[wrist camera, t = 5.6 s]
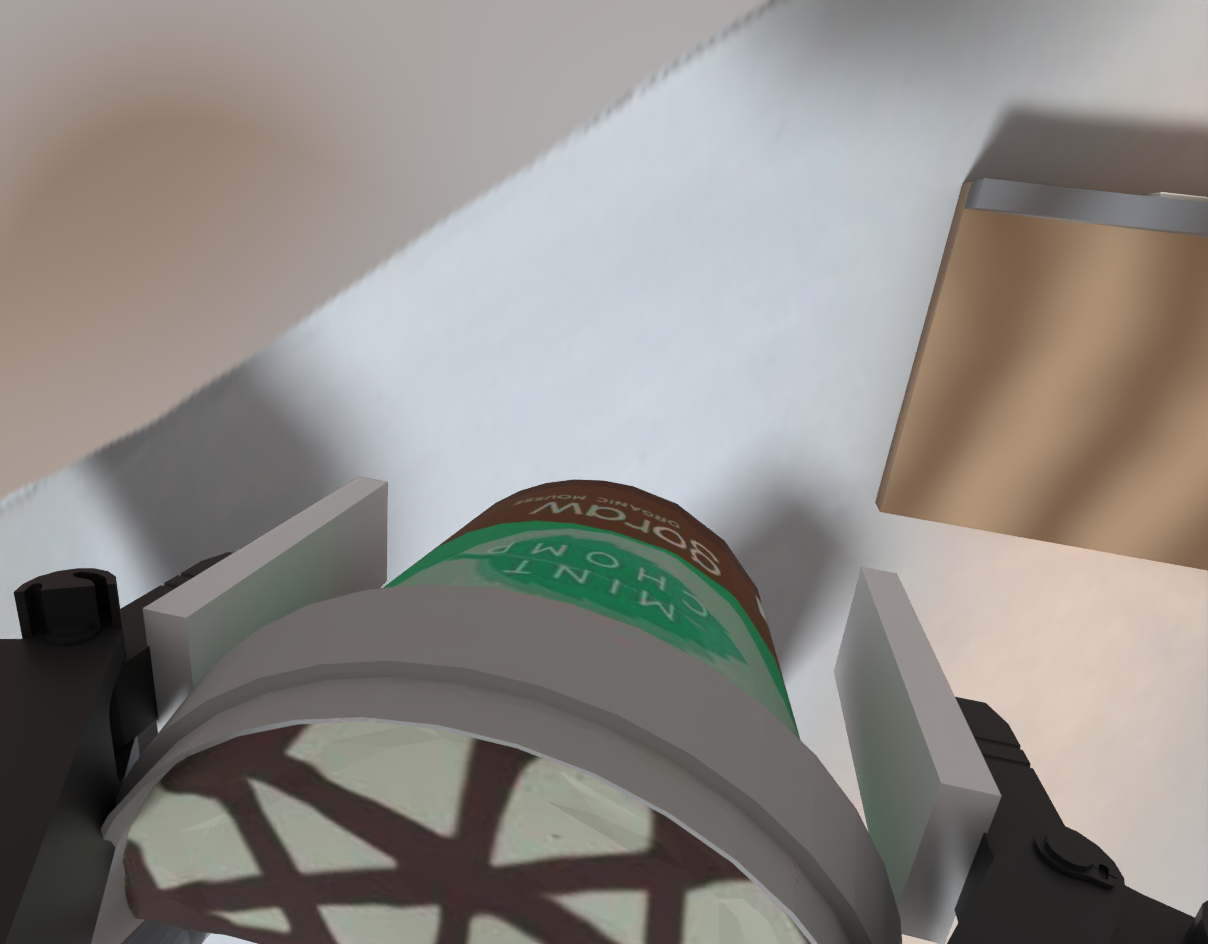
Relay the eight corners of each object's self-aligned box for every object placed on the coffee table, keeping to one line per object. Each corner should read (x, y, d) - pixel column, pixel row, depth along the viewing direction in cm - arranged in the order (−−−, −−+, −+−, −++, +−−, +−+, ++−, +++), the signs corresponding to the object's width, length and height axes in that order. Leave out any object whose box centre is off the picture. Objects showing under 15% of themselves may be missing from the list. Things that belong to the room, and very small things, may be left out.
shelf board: (875, 502, 33) (886, 524, 30) (964, 178, 28) (985, 171, 25) (1249, 568, 30) (1295, 598, 28) (1415, 229, 26) (1487, 227, 23)
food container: (874, 461, 16) (1076, 783, 6) (830, 691, 18) (934, 1193, 8) (367, 409, 18) (-54, 596, 8) (378, 622, 20) (50, 969, 10)
